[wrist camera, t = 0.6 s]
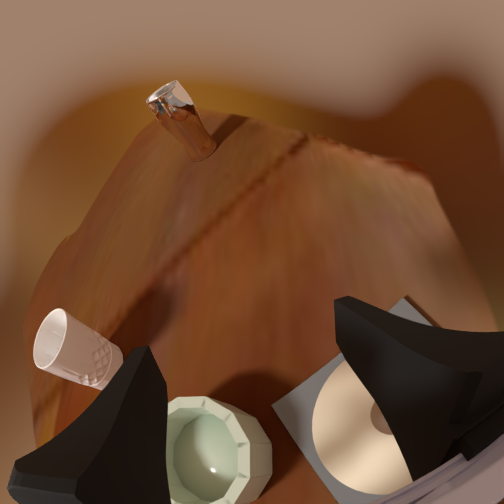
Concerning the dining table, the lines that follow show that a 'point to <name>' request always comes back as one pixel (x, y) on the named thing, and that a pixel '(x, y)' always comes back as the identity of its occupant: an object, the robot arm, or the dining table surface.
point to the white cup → (75, 351)
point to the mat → (301, 414)
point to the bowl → (215, 453)
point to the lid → (356, 437)
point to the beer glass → (182, 120)
